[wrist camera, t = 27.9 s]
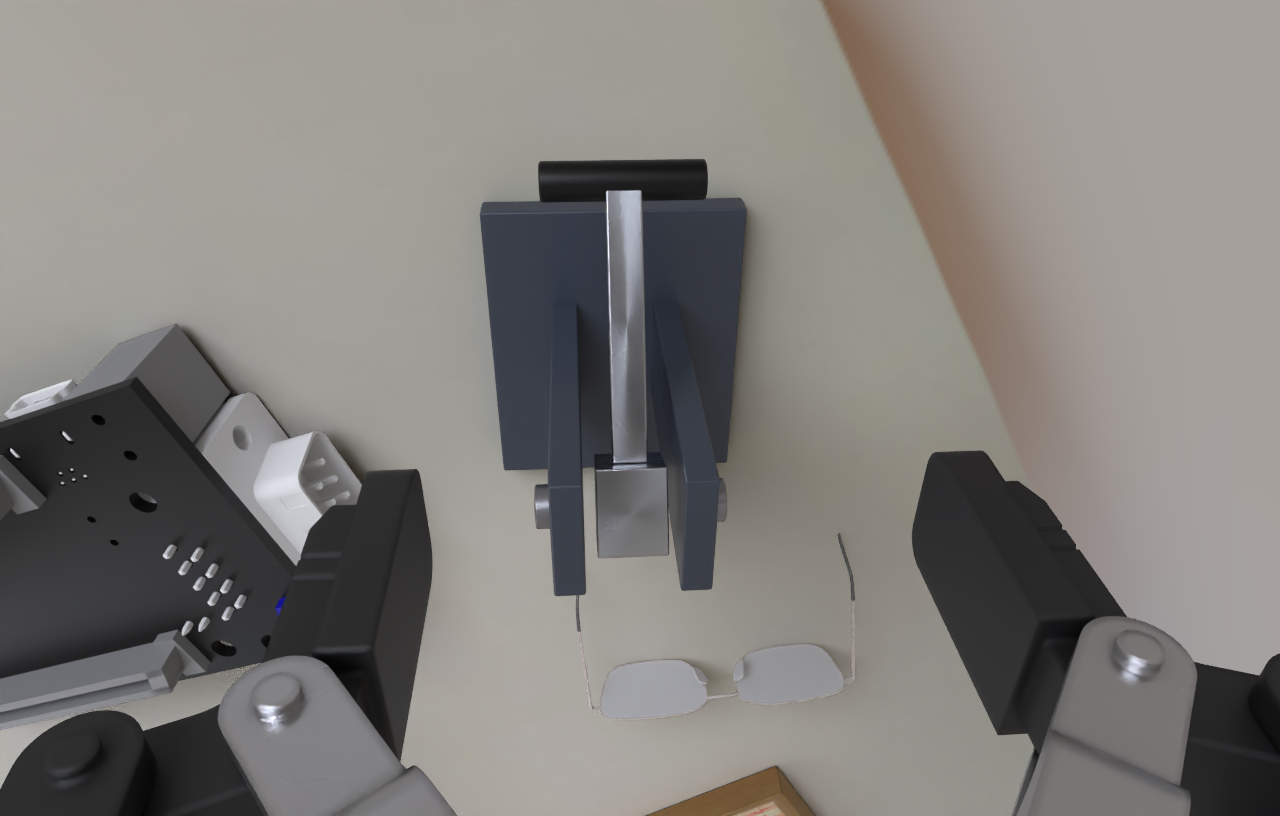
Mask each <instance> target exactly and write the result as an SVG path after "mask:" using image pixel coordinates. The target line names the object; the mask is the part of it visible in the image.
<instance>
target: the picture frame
mask: <svg viewBox="0 0 1280 816" xmlns="http://www.w3.org/2000/svg"><path fill="white" fill-rule="evenodd" d="M647 816H816V815H815V814H814V813H813V812H812V810H811V809H810V808H809V807H808V805H807V804H806V803H805V801H804V800H803V799H802V798H801V796H800V795H799V794H798V793H797V791H796V790H795V789H794V788H793V786H792V785H791V784H790V783H789V781H788V780H787V779H786V777H785V776H784V775H783V774H782V772H781V771H780V770H779V769H778V767H777V766H775V767H772V768H769V769H767V770H764V771H762V772H759V773H756V774H754V775H751V776H749V777H746V778H743V779H741V780H738V781H736V782H733V783H730V784H728V785H725V786H723V787H720V788H717V789H715V790H712V791H710V792H707V793H704V794H702V795H699V796H697V797H694V798H691V799H689V800H686V801H684V802H681V803H678V804H676V805H673V806H671V807H668V808H665V809H663V810H660V811H658V812H655V813H653V814H650V815H647Z"/></svg>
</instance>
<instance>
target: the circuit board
mask: <svg viewBox="0 0 1280 816" xmlns="http://www.w3.org/2000/svg"><path fill="white" fill-rule="evenodd" d="M229 393H230V391H229V390H228V389H227V388H226V386H225V385H224V384H223V382H222V381H221V380H220V379H219V377H218V376H217V375H216V374H215V372H214V371H213V370H212V368H211V367H210V366H209V365H208V363H207V362H206V361H205V359H204V358H203V357H202V356H201V354H200V353H199V352H198V350H197V349H196V348H195V347H194V345H193V344H192V343H191V341H190V340H189V339H188V338H187V336H186V335H185V334H184V332H183V331H182V330H181V329H180V327H179V326H178V325H177V324H174V325H171V326H168V327H165V328H162V329H160V330H157V331H154V332H151V333H148V334H145V335H142V336H140V337H137V338H134V339H131V340H128V341H125V342H122V343H120V344H118V345H117V346H116V347H115V348H114V349H113V350H112V351H111V352H110V353H109V354H108V355H107V356H106V357H105V358H104V359H103V360H102V361H101V362H100V363H99V364H98V365H97V366H96V367H95V368H94V369H93V370H92V371H91V372H90V373H89V374H88V375H87V376H86V377H85V378H84V379H83V380H82V381H81V382H80V383H79V384H78V385H77V384H76V383H75V382H74V381H73V380H72V379H70V380H67V381H64V382H61V383H58V384H55V385H53V386H50V387H47V388H44V389H41V390H38V391H35V392H32V393H29V394H26V395H24V396H22V397H20V398H19V399H18V400H16V401H15V402H14V403H13V404H12V405H11V406H10V407H11V408H10V409H9V410H8V411H7V412H6V413H5V416H6V417H7V418H8V419H9V420H6V421H3V422H0V730H3V729H7V728H12V727H16V726H21V725H25V724H30V723H35V722H39V721H44V720H48V719H53V718H57V717H62V716H66V715H71V714H76V713H80V712H85V711H89V710H94V709H98V708H103V707H108V706H112V705H117V704H121V703H126V702H130V701H135V700H139V699H144V698H149V697H153V696H158V695H162V694H167V693H171V692H172V691H173V689H174V687H175V685H176V684H177V682H178V681H180V680H185V679H189V678H194V677H198V676H203V675H207V674H212V673H216V672H221V671H225V670H230V669H234V668H239V667H243V666H248V665H252V664H256V663H261V662H262V660H263V658H264V655H265V652H266V650H267V647H268V644H269V641H270V638H271V636H272V633H273V630H274V627H275V625H276V622H277V619H278V616H279V613H280V611H281V608H282V605H283V602H284V599H285V597H286V594H287V591H288V588H289V586H290V583H291V582H293V574H294V572H295V569H296V566H297V563H298V560H301V552H302V549H303V547H304V544H305V541H306V538H307V535H308V533H309V530H310V528H311V527H312V526H313V525H314V524H315V523H316V522H317V521H318V520H319V519H320V518H321V517H322V516H323V515H324V514H325V512H326V511H327V510H328V509H329V508H330V507H331V506H332V505H356V503H357V500H358V497H359V493H360V490H361V487H362V484H361V483H360V481H359V480H358V479H357V477H356V476H355V474H354V473H353V472H352V470H351V469H350V468H349V466H348V465H347V463H346V462H345V461H344V459H343V458H342V457H341V455H340V454H339V452H338V451H337V450H336V448H335V447H334V446H333V444H332V443H331V441H330V440H329V439H328V437H327V436H326V435H325V434H324V433H323V432H321V431H314V432H310V433H307V434H303V435H300V436H297V437H293V438H290V439H289V438H288V437H287V436H286V434H285V433H284V432H283V430H282V429H281V428H280V426H279V425H278V424H277V422H276V421H275V420H274V419H273V417H272V416H271V415H270V413H269V412H268V411H267V409H266V408H265V407H264V405H263V404H262V403H261V401H260V400H259V399H258V397H257V396H256V395H255V394H253V393H251V392H247V393H244V394H241V395H238V396H234V397H231V398H229V399H228V400H227V401H226V403H225V404H222V403H223V401H224V400H225V399H226V397H227V396H228V395H229ZM40 400H42V401H41V402H37V401H40ZM221 404H222V405H221ZM219 640H222V641H226V642H229V643H231V644H232V645H233V646H234V647H232V646H227V645H224V644H223V643H221V642H220V641H219Z"/></svg>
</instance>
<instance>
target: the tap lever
mask: <svg viewBox="0 0 1280 816" xmlns="http://www.w3.org/2000/svg"><path fill="white" fill-rule="evenodd" d="M538 177H539V196H540V201H541V202H542V203H552V202H605V234H606V271H607V308H608V346H609V383H610V420H611V453H609V454H594V472H595V505H596V536H597V551H598V558H621V557H644V556H667V555H669V519H668V468H667V466H666V464H665V462H664V459H663V457H662V455H661V453H660V452H648V448H647V398H646V349H645V300H644V251H643V202H642V201H671V200H704V199H705V198H706V195H707V186H708V172H707V164H706V161H705V160H704V159H674V160H601V161H541V162H539V164H538Z"/></svg>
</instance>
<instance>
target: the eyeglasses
mask: <svg viewBox="0 0 1280 816" xmlns="http://www.w3.org/2000/svg"><path fill="white" fill-rule="evenodd" d="M838 539H839V543H840V546H841V549H842V553H843V556H844V559H845V562H846V565H847V568H848V571H849V575H850V582H851V600H852V675H851V677H850V678H843V676H842V674H841V671H840V670H839V668H838V666H837V665H836V663H835V662H834V661H833V659H832V658H831V656H830V655H829V654H828V653H827V652H826V651H825V650H824V649H823V648H821V647H819V646H816V645H812V644H793V645H782V646H775V647H769V648H764V649H760V650H755V651H752V652H750V653H748V654H746V655H745V656H744V657H743V659H742V661H739V662H738V663H737V664H736V666H735V669H734V673H733V679H734V680H735V681H736V691H737V692H735V693H731V694H724V695H715V696H708V692H707V689H706V687H705V685H706V684H707V682H708V681H707V679H706V677H705V675H704V673H703V672H702V671H701V670H700V669H699V668H698V667H696V666H694V667H692V666H691V665H690V664H688V663H687V662H685V661H682V660H651V661H642V662H635V663H629V664H625V665H621V666H618V667H616V668H614V669H613V670H611V671H610V672H609V674H608V675H607V677H606V680H605V683H604V686H603V690H602V694H601V699H600V707H593V706H592V704H591V696H590V690H589V684H588V678H587V671H586V665H585V659H584V653H583V646H582V640H581V634H580V631H581V629H580V620H579V595H577V596H576V619H577V630H578V632H579V639H580V647H581V654H582V662H583V669H584V677H585V685H586V692H587V700H588V705H589V708H590V710H591V712H601V714H602V716H603V717H605V718H607V719H611V720H647V719H658V718H666V717H673V716H679V715H684V714H688V713H691V712H694V711H696V710H699V709H700V708H702V707H703V706H704V705H705V704H706V703H707V701H708V699H717V698H725V697H732V696H736V695H738V696H739V698H740V699H741V700H743V701H745V702H747V703H751V704H757V705H778V704H788V703H797V702H804V701H810V700H815V699H820V698H824V697H828V696H832V695H836V694H838V693H840V692H841V691H843V690H844V688H845V684H848V683H852V682H853V681H854V679H855V626H854V600H855V595H854V582H853V575H852V571H851V568H850V565H849V562H848V559H847V556H846V553H845V550H844V547H843V544H842V541H841V537H840V533H839V534H838Z"/></svg>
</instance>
